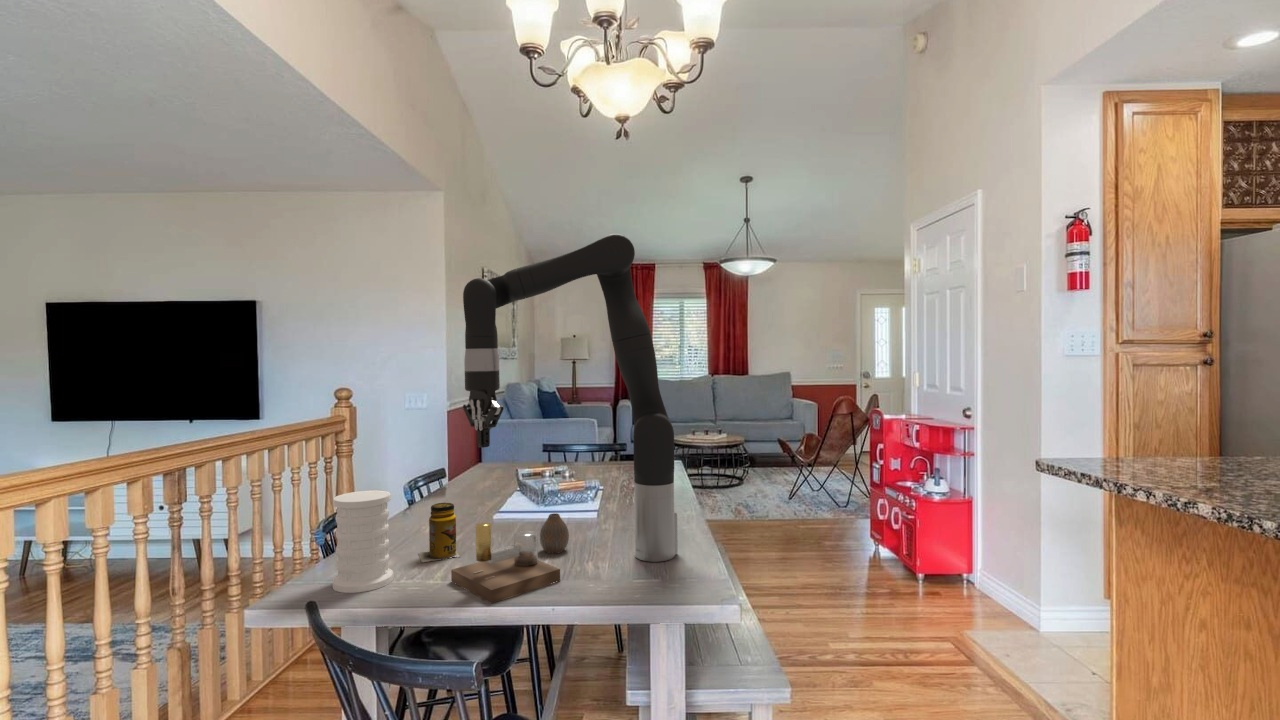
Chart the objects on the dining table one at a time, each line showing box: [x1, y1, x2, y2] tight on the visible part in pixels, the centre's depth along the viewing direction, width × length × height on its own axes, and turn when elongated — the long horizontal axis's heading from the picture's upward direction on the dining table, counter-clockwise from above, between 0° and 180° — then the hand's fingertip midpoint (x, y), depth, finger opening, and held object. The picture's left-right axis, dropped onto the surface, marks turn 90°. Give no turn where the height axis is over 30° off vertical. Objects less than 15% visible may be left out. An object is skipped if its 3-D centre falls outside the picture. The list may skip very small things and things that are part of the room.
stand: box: [450, 558, 561, 604], centre depth 126 cm, size 16×16×3 cm
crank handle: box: [475, 521, 539, 566], centre depth 126 cm, size 14×5×10 cm, turn 135°
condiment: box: [418, 502, 461, 563], centre depth 143 cm, size 7×8×12 cm
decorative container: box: [332, 489, 395, 594], centre depth 126 cm, size 12×12×18 cm
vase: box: [539, 512, 570, 554], centre depth 145 cm, size 7×7×9 cm
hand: (483, 446), depth 135 cm, fingers closed
